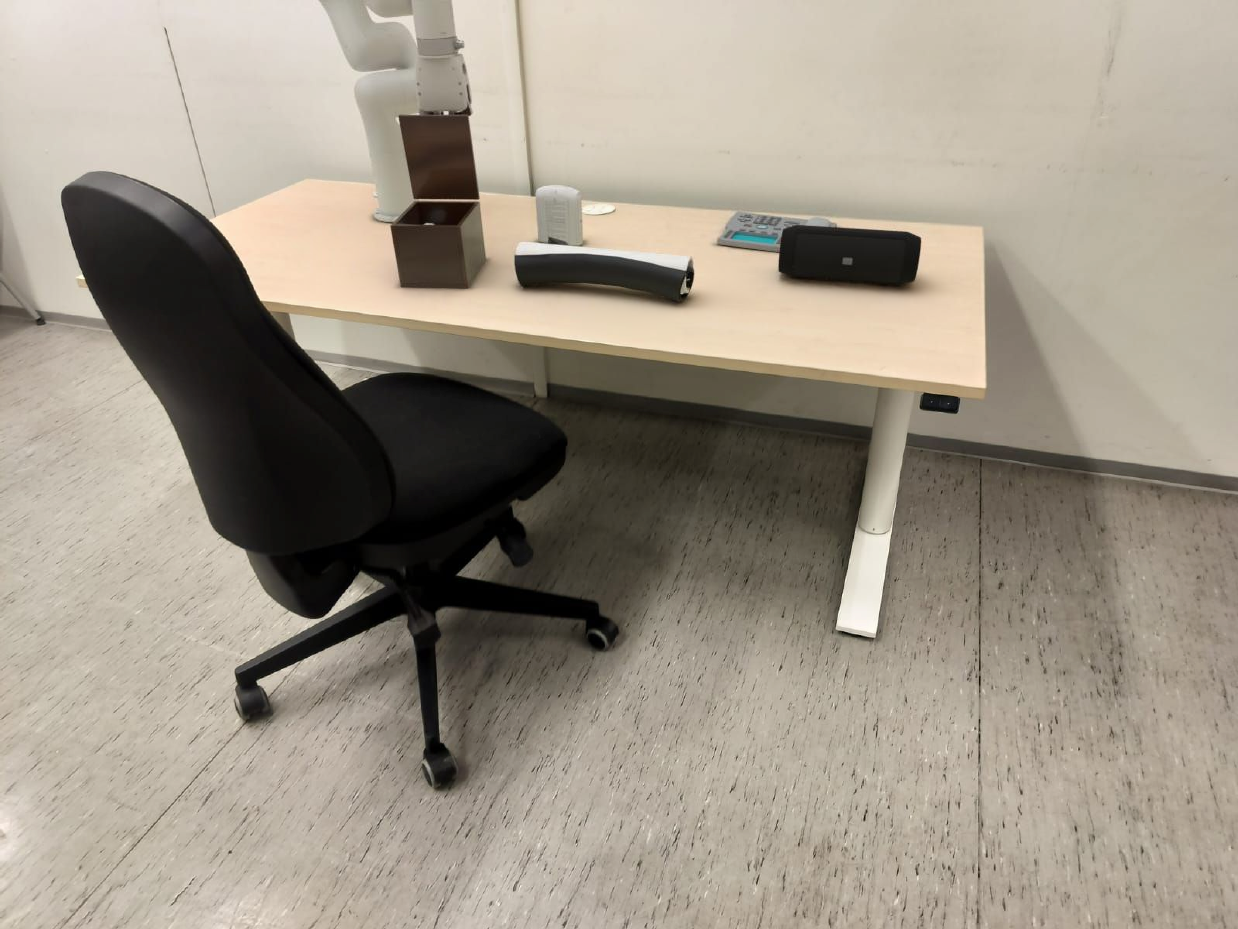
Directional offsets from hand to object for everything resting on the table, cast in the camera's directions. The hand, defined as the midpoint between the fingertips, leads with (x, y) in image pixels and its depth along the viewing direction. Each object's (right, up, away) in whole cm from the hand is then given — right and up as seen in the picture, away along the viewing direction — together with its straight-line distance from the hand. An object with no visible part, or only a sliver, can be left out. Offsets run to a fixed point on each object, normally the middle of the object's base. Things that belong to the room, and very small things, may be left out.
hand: (450, 146), depth 174 cm
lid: (-1, -5, -6) cm, 8 cm away
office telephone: (+69, -15, +14) cm, 72 cm away
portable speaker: (+79, -29, -7) cm, 84 cm away
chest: (-1, -26, 0) cm, 26 cm away
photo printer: (+22, -16, +14) cm, 30 cm away
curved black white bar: (+32, -30, -7) cm, 45 cm away
